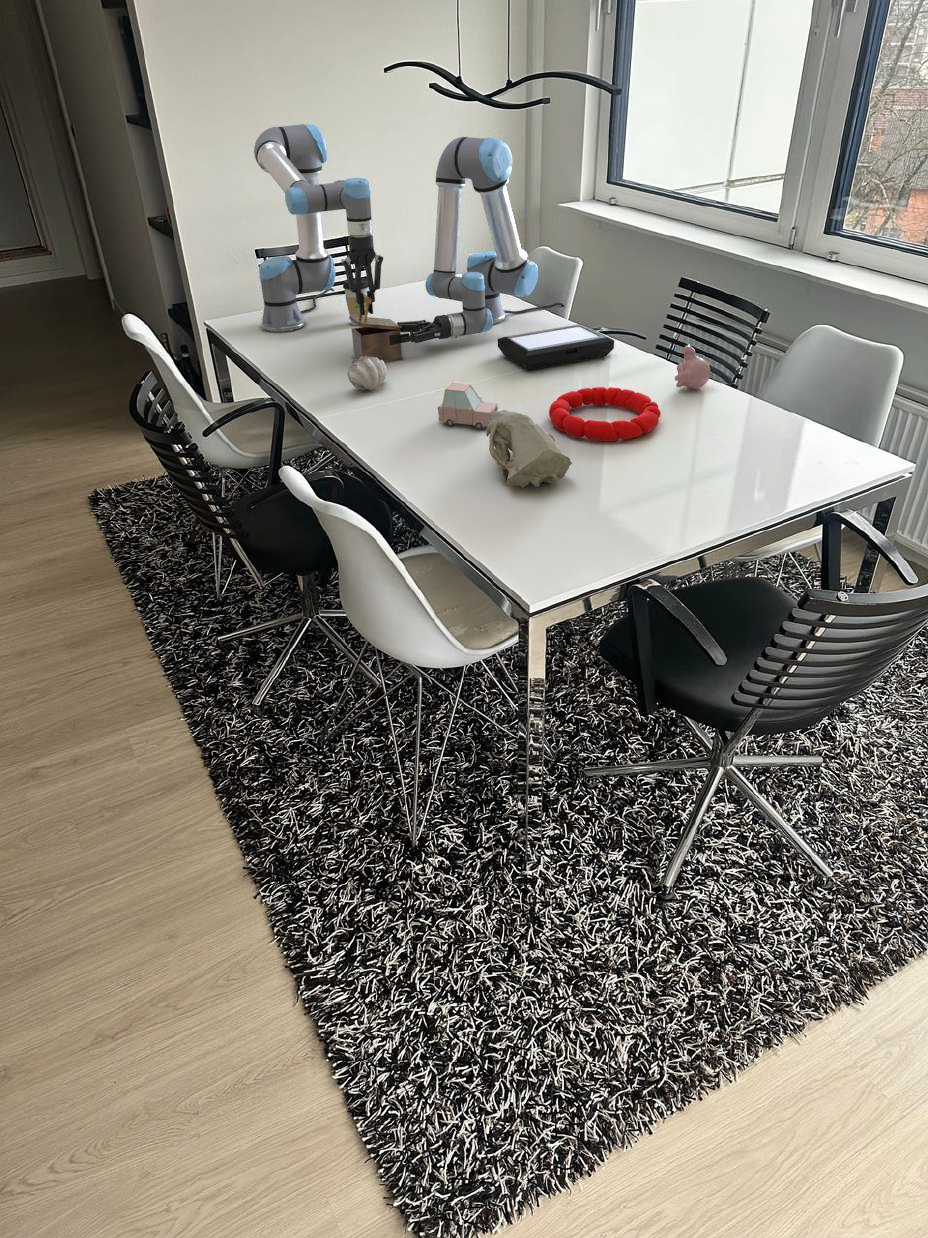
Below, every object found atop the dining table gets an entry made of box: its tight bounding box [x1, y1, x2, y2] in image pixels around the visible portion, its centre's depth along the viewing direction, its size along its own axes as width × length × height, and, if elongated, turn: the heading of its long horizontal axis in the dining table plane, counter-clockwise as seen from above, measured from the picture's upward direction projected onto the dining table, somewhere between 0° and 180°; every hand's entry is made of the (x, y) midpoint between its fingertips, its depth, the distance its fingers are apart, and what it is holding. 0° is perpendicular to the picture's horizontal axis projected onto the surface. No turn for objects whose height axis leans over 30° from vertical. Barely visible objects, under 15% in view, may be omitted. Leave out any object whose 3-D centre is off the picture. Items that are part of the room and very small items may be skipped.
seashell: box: [347, 356, 388, 391], centre depth 267 cm, size 10×15×10 cm
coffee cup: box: [342, 277, 370, 327], centre depth 323 cm, size 10×10×15 cm
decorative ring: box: [548, 386, 661, 442], centre depth 242 cm, size 7×30×30 cm
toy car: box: [437, 382, 499, 431], centre depth 243 cm, size 9×15×10 cm, turn 70°
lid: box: [348, 293, 400, 330], centre depth 285 cm, size 14×10×9 cm
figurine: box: [674, 344, 711, 390], centre depth 259 cm, size 9×11×12 cm
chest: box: [351, 326, 403, 363], centre depth 291 cm, size 13×10×10 cm
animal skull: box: [485, 409, 573, 489], centre depth 216 cm, size 17×25×20 cm
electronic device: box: [497, 323, 615, 371], centre depth 288 cm, size 32×6×20 cm
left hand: (366, 313), depth 285 cm, fingers closed on lid, 2 cm apart
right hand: (384, 336), depth 291 cm, fingers closed on chest, 10 cm apart
